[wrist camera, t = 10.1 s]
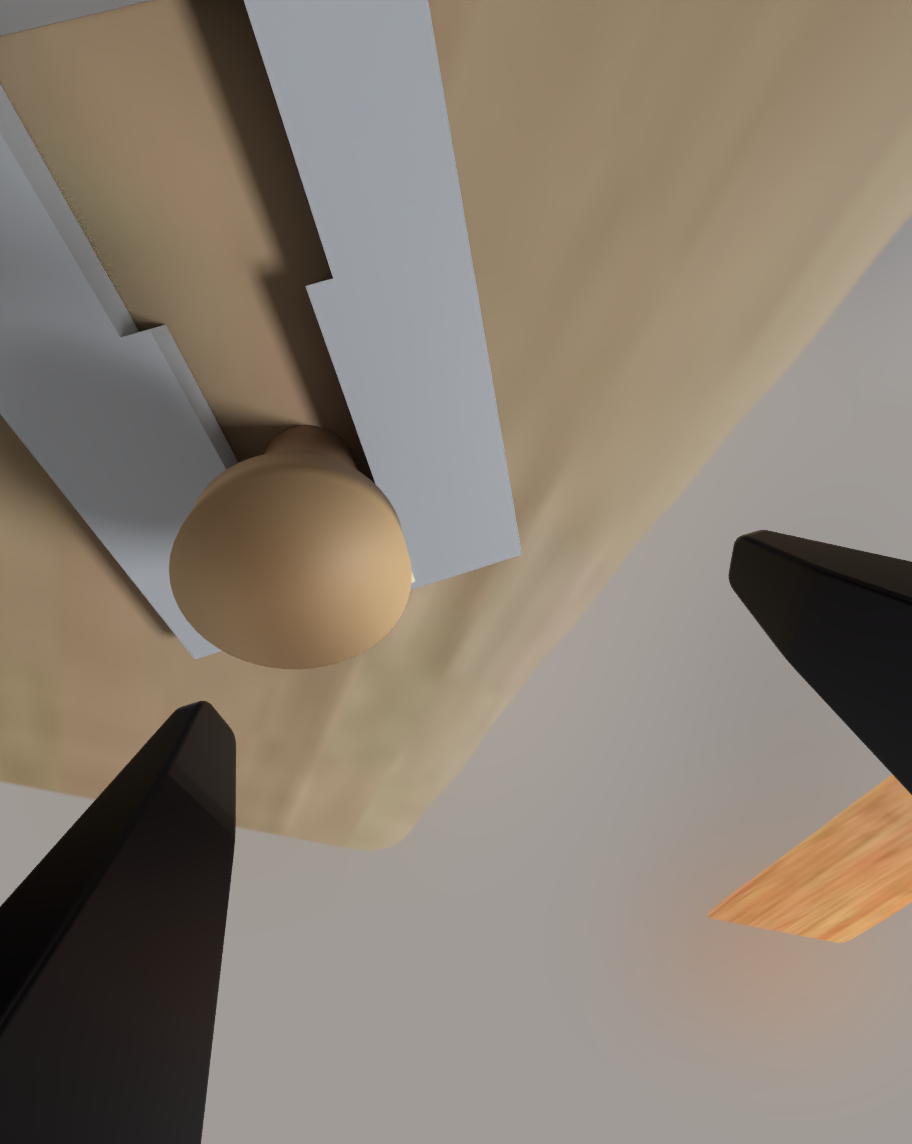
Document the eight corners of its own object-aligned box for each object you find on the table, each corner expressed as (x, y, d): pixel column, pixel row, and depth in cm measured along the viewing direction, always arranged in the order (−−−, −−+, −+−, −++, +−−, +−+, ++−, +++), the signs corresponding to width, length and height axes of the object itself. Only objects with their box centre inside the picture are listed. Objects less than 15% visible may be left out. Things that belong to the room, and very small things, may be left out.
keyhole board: (-377, -143, 8) (-507, -219, 7) (359, -295, 9) (363, -389, 8) (203, 635, 20) (194, 661, 19) (510, 537, 21) (522, 555, 19)
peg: (355, 376, 16) (371, 443, 10) (401, 512, 19) (435, 630, 13) (200, 421, 16) (112, 521, 9) (272, 552, 19) (242, 694, 12)
